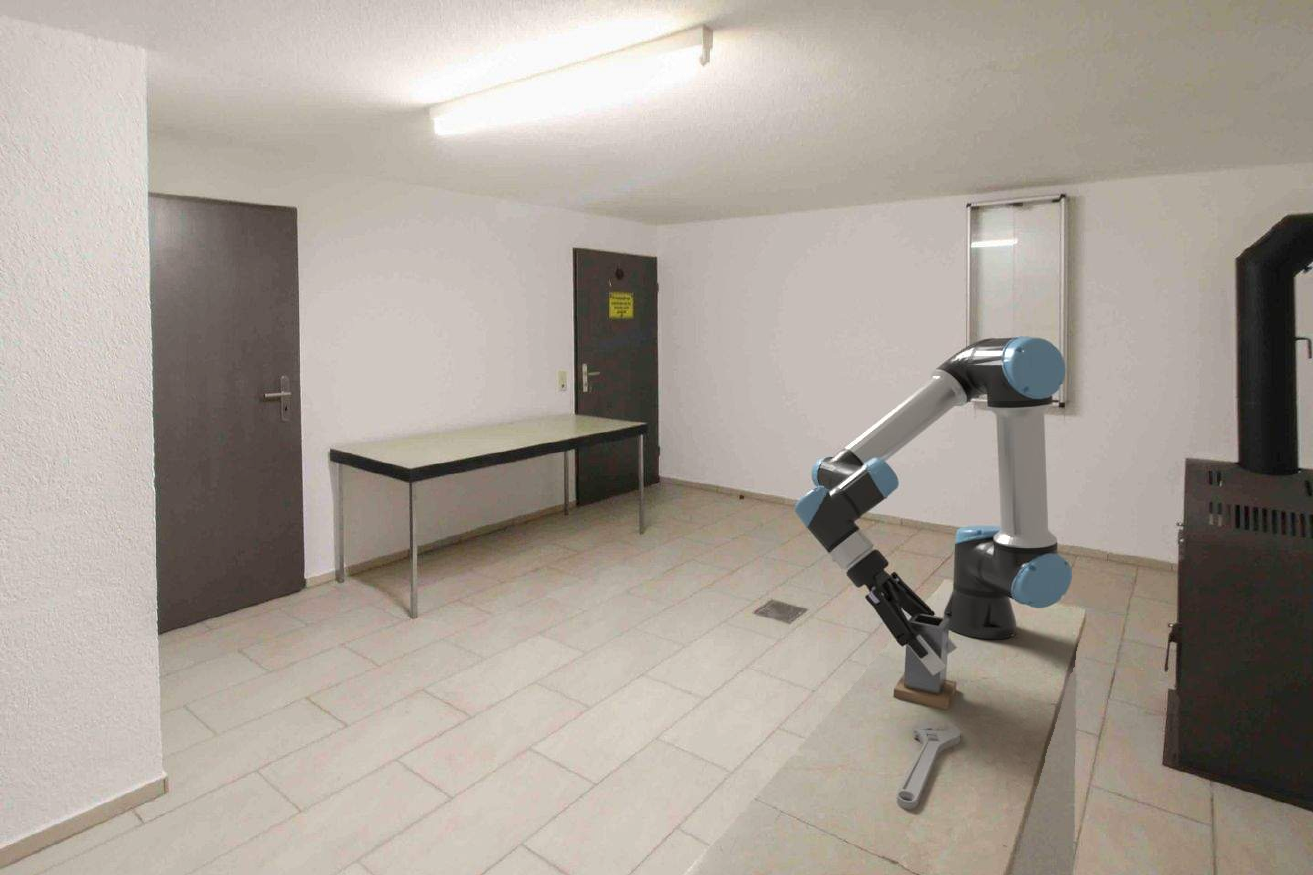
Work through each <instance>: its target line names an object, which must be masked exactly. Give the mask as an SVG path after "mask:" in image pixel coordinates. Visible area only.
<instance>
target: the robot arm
mask: <svg viewBox="0 0 1313 875" xmlns="http://www.w3.org/2000/svg"><path fill="white" fill-rule="evenodd" d="M1066 373H1067V372H1066V363H1065V360H1064V357H1063V355H1062V353H1061V351H1060V350H1059V349H1058V347H1056V346H1055V345H1054V344H1053V343H1052V342H1051V341H1049V340H1047V339H1044V338H1041V337H1034V336H1031V337H1030V336H1017V337H1003V338H1001V337H1000V338H995V337H993V338H992V337H990V338H984V339H981V340H978V341H975V342H973V343H971V344H969V345H967V346H965V347H964V348H962V349H961V350H959V351H958V352H956V353H955V354H954V355H953V356H951V357H949V358H948V359H947V360H946V361H944V362H943V363H942V364H940V365H939V366H938V367H936V368H935V369H934V370H933V371H932V372H931V373H930V374H931V375H930V379H929V380H928V381H926V383H924V384H923V385H921V386H920V387H919V388H917V390H916V391H914V392H913V393H911V395H909V396H908V397H906V398H905V399H904V400H903V401H902V402H900V403H899V404H898V405H897V406H895V407H894V408H893V409H891V410H890V411H889V412H888V413H886V414H885V415H884V416H882V418H881V419H879V420H878V421H876V422H875V423H874V424H873V425H872V426H870V427H869V428H868V429H867V430H866V431H864V432H863V433H862V434H860V435H859V436H858V437H856V438H855V439H854V440H853V441H851V443H849V444H848V445H847V446H845V447H844V448H843V449H841V451H839V452H838V453H836V454H835V455H834V456H825V457H822V458H819V459H818V460H816V462H815V463H814V464H813V466H812V469H811V472H810V473H811V474H810V475H811V480H812V482H813V485H814V486H815V487H814V488H813V489H811V490H809V491H808V492H807V493H806V494H805V495H803V496H802V497H801V498H800V499H799V500H798V501H797V502H796V504H795V506H794V512H795V513H796V515H797V517H798V518H799V519H800V520H801V522H802V524H804V527H805V528H806V529H807V530H808V531H809V532H810V533H811V534H812V535H813V536H814V538H815V539H816V540H817V541H818V543H820V545H821V546H822V547H823V548H824V549H825V550H826V552H827V553H828V554H829V555H830V557H831V561H832V562H833V563H836V564H837V565H838V566H839V568H840V569H841V570H846V576H847V577H848V578H849V580H850V581H851V582H852V583H853V585H854V586H855V587H856V588H859V589H860V588H862V587H863V586H865V587H866V588H867V589H868V591H869V593H868V594H866V595H865V597H864V598H865V600H866V601H867V602H868V603H869V604H870V606H872V608H873V609H874V610H875V612H876V613H877V615H878V616H879V617H880V619H881V621H882V622H883V623H884V625H885V627H887V628H886V629H888V630H889V632H890V633H891V635H892V637H893V638H894V639H895V640H896V642H897V644H898V645H900V646H901V647H902V648H903V647H906V644H907V645H908V646H909V647H910V648H911V650H912V651H913V652H914V653H915V654H916V656H917V657H918V658H919V659H920V660H921V662H922V663H923V664H924V665H925V666H926V668H927V669H928V670H929V671H930V672H931V674H932V675H935V674H936V673H938V672H939V671H941V670H942V669H944V668H945V667H946V665H945V664H944V663H943V662H942V660H941V659H940V658H939V657H938V656H937V654H936V653H935V652H934V651H933V650H932V649H931V647H930V646H929V645H928V644H927V643H926V641H925V640H924V639H923V638H922V637H921V635H918V636H917V635H916V633H915V631H914V630H913V628H912V626H911V624H910V623H909V621H908V620H909V619H908V618H907V616H906V614H905V612H906V613H907V615H909V616H910V617H912V616H913V614H914V613H921V614H926V615H931V616H936V612H935V611H934V610H932V609H931V607H930V606H929V605H928V604H927V603H926V602H925V601H924V600H923V599H922V598H921V597H920V596H919V595H918V594H917V593H915V591H914V590H913V589H912V588H911V587H909V586H908V584H906V583H905V582H904V580H903V579H902V578H901V577H900V575H899V574H898V573H897V572H896V571H893V572H891V573H890V574H889V573H888V571H886V570H885V569H886V568H887V567H888V566H889V564H890V563H889V561H888V559H887V558H886V557H885V556H884V555H883V553H881V551H880V550H879V549H877V548H876V549H875V548H873V547H874V542H872V541H871V539H870V538H869V537H868V535H866V534H865V532H864V531H863V530H862V529H861V528H860V527H859V526H858V525H857V523H856V522H857V521H858V520H859V519H861V517H863V516H864V515H865V514H867V513H868V512H870V511H871V510H872V509H873V508H875V507H876V506H877V505H879V504H880V503H881V502H883V501H884V500H886V499H888V497H889V496H890V495H892V494H893V492H894V491H896V490H897V489H898V488H899V483H900V482H899V477H898V476H897V474H896V472H895V471H894V470H893V468H892V467H891V466H890V465H889V464H888V463H887V462H886V461H888V460H889V459H890V458H892V457H893V456H894V455H895V454H897V453H898V452H899V451H900V450H902V449H903V448H904V447H905V446H906V445H908V444H909V443H910V442H912V440H914V439H915V438H917V437H918V436H919V435H920V434H922V433H923V432H924V431H925V430H927V429H928V428H929V427H930V426H932V425H933V424H934V423H935V422H937V421H938V420H939V419H941V418H942V417H943V416H945V415H946V414H947V413H948V412H949V411H951V410H952V409H953V408H954V407H963V406H964V405H966V404H967V403H969V401H971V400H972V399H975V398H977V397H980V396H984V395H986V400H987V403H986V404H987V409H988V410H990V411H991V412H992V413H994V415H995V417H996V439H997V440H996V441H997V442H996V443H997V462H998V465H997V466H998V467H997V468H998V484H999V487H998V488H999V489H998V490H999V491H998V492H999V510H1000V513H999V515H1000V526H998V525H997V526H995V525H971V526H970V525H968V526H967V525H966V526H962V527H960V528H958V529H957V531H956V533H955V539H954V540H955V541H954V544H953V546H954V557H953V559H954V560H953V561H954V562H953V581H952V582H953V584H952V591H951V594H950V596H949V597H948V598H949V599H948V601H947V603H946V606H945V608H944V611H943V614H942V618H947V619H950V620H949V631H952V632H954V633H957V634H959V635H963V636H967V637H970V638H976V639H984V640H1005V639H1009V638H1008V637H1010V638H1012V637H1013V636H1012V635H1014V634H1015V633H1017V626H1018V625H1017V624H1018V623H1017V620H1016V616H1015V612H1014V609H1013V605H1012V602H1011V600H1014V602H1017V603H1018V604H1020V605H1024V606H1028V607H1031V608H1034V609H1044V608H1049V607H1052V606H1053V605H1055V604H1056V603H1059V602H1060V600H1061V599H1062V598H1063V596H1066V594H1067V592H1068V590H1069V589H1070V587H1071V584H1072V579H1073V572H1072V566H1071V565H1070V563H1069V561H1067V560H1066V559H1065V557H1063V556H1061V555H1060V554H1059V552H1058V549H1059V548H1058V538H1057V536H1056V535H1054V534H1053V533H1052V532H1051V531H1050V530H1049V517H1048V514H1049V511H1048V489H1047V488H1048V485H1047V484H1048V483H1047V458H1046V451H1047V450H1046V428H1045V425H1046V424H1045V413H1046V412H1047V410H1049V408H1050V407H1052V406H1053V400H1054V399H1053V395H1055V394H1056V393H1058V391H1059V390H1060V389H1061V385H1063V384H1064V382H1065V379H1066ZM1015 635H1016V634H1015ZM1015 635H1014V636H1015ZM1011 636H1012V637H1011ZM956 649H958V646H957V645H956V643H955V642H954V641H953V640H952V639H951V638H950V637H949V638H948V655H949V654H950V653H952V652H953V651H955V650H956Z"/></svg>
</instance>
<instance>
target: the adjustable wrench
mask: <svg viewBox="0 0 1313 875" xmlns="http://www.w3.org/2000/svg"><path fill="white" fill-rule="evenodd" d="M945 729H946V730H933V729H932V726H931V723H930V721H929V720H924V721H921V722H919V723H918V724H917V726H916V728H912V736H913V738H914V739H917V740H918V741H919V742H920V743H921V744H922V746H921V748H920V749H919V751H918V754H917V755H916V757H915V759H914V761H913V763H912V764H911V766H910V768H909V770H908V772H907V774H905V777H904V779H903V781H902V783H901V785H900V786H899V789H898V790H897V793H896V800H895V801H896V804H897V805H898V806H899V807H901V808H903V809H906V810H912V809H913V810H914V809H916V808H917V806H918V804H919V801H920V799H921V798H922V794H923V792H924V789H925V786H926V784H927V782H928V779H929V777H930V774H931V772H932V770H933V767H934V764H935V762H936V759H937V757H938V755H939V753H941V752H942V751H944V750H946V749H948V748H950V747H954V746H956V745H958V744H959V743H960V741H961V730H960V729H959V727H957V726H956V725H955V724H953V723H951V722H946V728H945Z"/></svg>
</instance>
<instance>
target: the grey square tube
mask: <svg viewBox="0 0 1313 875" xmlns="http://www.w3.org/2000/svg"><path fill="white" fill-rule="evenodd" d="M949 620H950V619H947V618H943V616H942V617H941V616H936V615H934V616H931V615H926V614H921V613H914V614H913V616H910V618H909V619H908V621H909V623H910V624H911V626H912V628H913V630H914V631H915V633H916V635H917V636H918V635H921V637H922V638H923V639H924V640H925V641H926V643H927V644H928V645H929V646H930V647H931V649H932V650H933V651H934V652H935V653H936V654H937V656H938V657H939V658H940V659H941V660H942V662H943V663H944V664H945V665H946V667H945V668H944V669H942V670H941V671H939V672H938V673H936V674H935V675H932V674H931V672H930V671H929V670H928V669H927V668H926V666H925V665H924V664H923V663H922V662H921V660H920V659H919V658H918V657H917V656H916V654H915V653H914V652H913V651H912V650H911V648H910V647H909V646H908V645H907V644H906V645H905V657H904V660H905V661H904V672H905V675H904V687H907V688H911V689H915V690H920V691H924V692H928V693H932V694H936V695H940V693H941V691H942V689H943V687H944V686H945V684H946V680H947V669H948V656H949V654H948V638H950V636H949V635H950V634H949V633H950V629H949Z"/></svg>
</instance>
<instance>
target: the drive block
mask: <svg viewBox="0 0 1313 875" xmlns="http://www.w3.org/2000/svg"><path fill="white" fill-rule="evenodd" d="M904 675H905V671H904V672H903V674H902V675H901V677H900V678H899V680H898V681H897V683H896V685H895V686H894V688H893V697H894V698H897V699H900V700H905V701H909V702H913V703H917V704H921V705H925V706H929V707H934V708H938V709H941V710H946V711H947V710H949V709H948V708H949V706H950V705H951V702H952V699H953V698H954V695H955V694H956V691H957V681H953V680H950V679H949V680H948V679H946V684H945V686H944V687H943V689H942V691H941V693H940V695H936V694H932V693H928V692H924V691H920V690H915V689H911V688H907V687H904Z"/></svg>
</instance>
